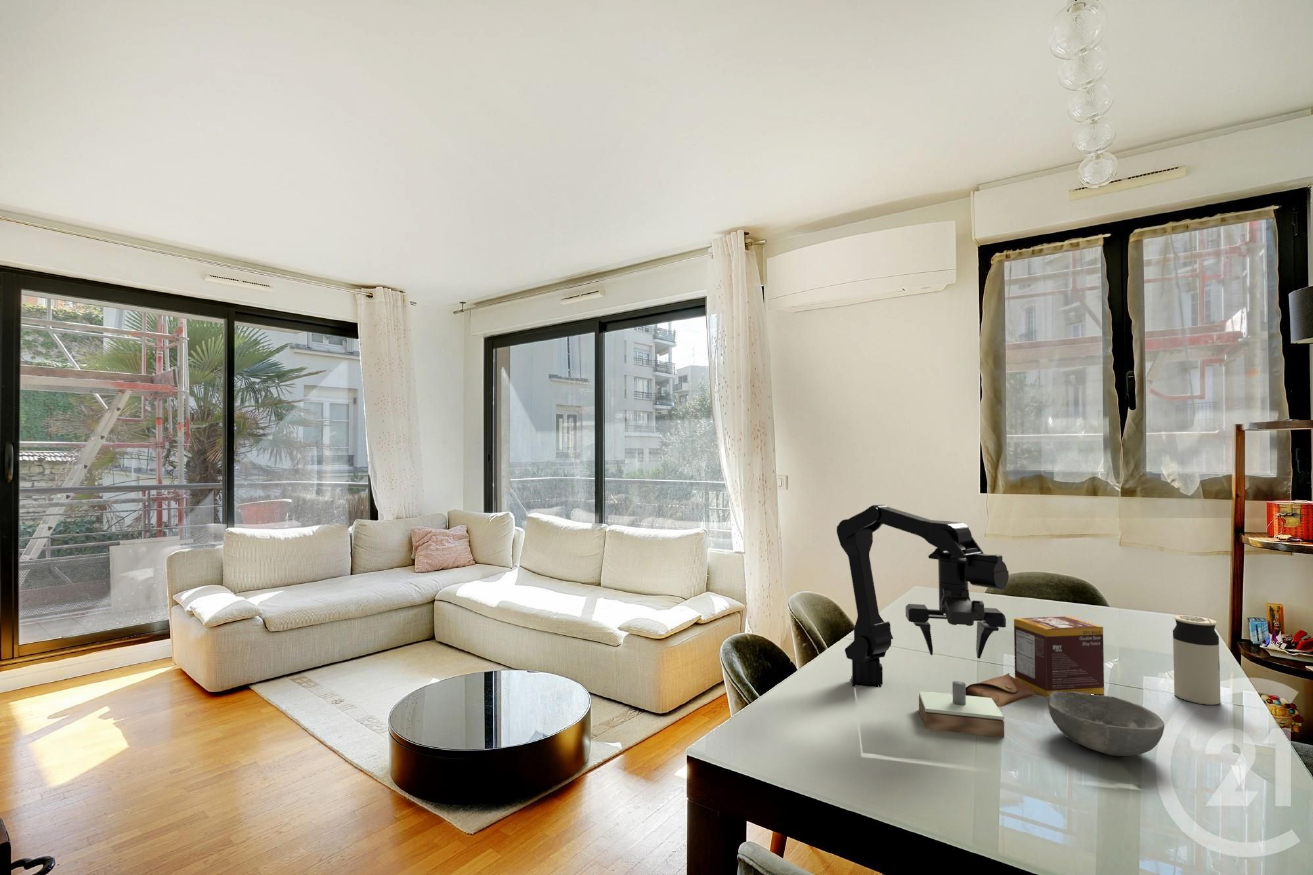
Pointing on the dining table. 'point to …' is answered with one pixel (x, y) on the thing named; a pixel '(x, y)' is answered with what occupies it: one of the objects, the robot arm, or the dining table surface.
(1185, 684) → the travel mug
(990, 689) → the sunglasses case
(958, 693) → the lid
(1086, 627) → the supplement box
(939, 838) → the dining table surface
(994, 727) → the box
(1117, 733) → the bowl
